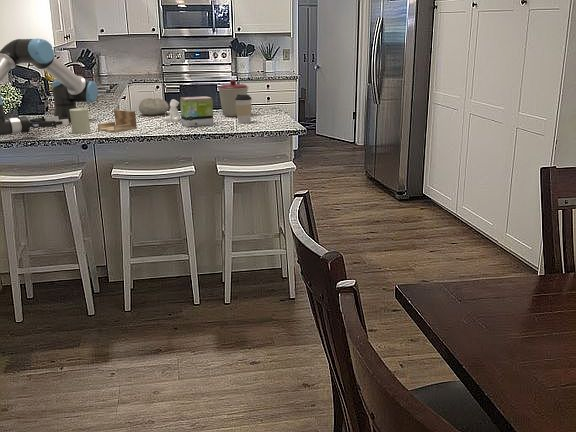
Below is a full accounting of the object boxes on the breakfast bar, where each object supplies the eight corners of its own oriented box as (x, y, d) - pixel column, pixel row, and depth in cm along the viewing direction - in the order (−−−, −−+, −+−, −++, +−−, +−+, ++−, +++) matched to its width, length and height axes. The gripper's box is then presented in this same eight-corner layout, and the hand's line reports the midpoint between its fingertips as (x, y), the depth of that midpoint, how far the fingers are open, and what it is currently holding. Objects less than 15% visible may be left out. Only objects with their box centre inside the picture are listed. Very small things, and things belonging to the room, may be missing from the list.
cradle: (97, 130, 308) (95, 112, 305) (119, 126, 319) (117, 109, 316) (115, 132, 300) (113, 114, 298) (136, 128, 311) (135, 111, 309)
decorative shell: (153, 112, 371) (152, 96, 368) (175, 113, 363) (174, 97, 360) (133, 116, 357) (131, 99, 354) (155, 117, 348) (154, 100, 345)
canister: (213, 117, 346) (211, 80, 339) (227, 113, 362) (226, 77, 355) (241, 118, 339) (239, 80, 333) (254, 114, 355) (253, 78, 348)
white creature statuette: (162, 121, 333) (160, 100, 330) (171, 119, 341) (169, 98, 337) (176, 122, 329) (174, 100, 326) (185, 120, 337) (183, 98, 333)
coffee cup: (255, 121, 328) (254, 93, 324) (248, 123, 320) (247, 95, 315) (240, 120, 331) (238, 93, 326) (233, 123, 323) (232, 95, 318)
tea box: (187, 127, 312) (185, 99, 308) (181, 124, 321) (179, 97, 316) (214, 125, 319) (212, 97, 314) (207, 122, 328) (206, 95, 323)
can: (85, 133, 299) (82, 109, 296) (68, 133, 301) (65, 109, 298) (94, 130, 308) (91, 107, 304) (78, 130, 310) (75, 107, 306)
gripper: (12, 129, 294) (55, 125, 307) (28, 136, 276) (73, 130, 289) (10, 114, 292) (53, 110, 305) (26, 120, 274) (71, 115, 287)
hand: (63, 120), depth 297 cm, fingers open, 13 cm apart
